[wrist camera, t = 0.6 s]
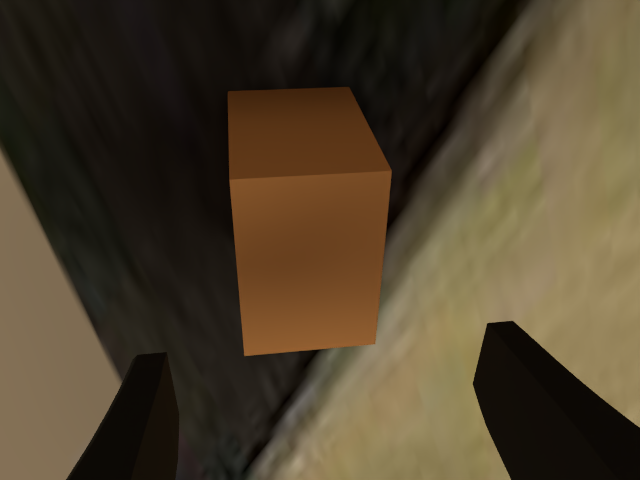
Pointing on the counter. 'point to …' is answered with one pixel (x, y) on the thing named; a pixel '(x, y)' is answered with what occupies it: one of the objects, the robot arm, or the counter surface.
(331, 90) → the tall wooden block
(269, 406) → the counter surface
